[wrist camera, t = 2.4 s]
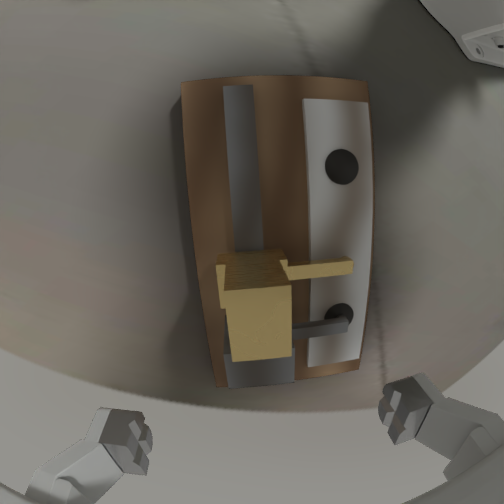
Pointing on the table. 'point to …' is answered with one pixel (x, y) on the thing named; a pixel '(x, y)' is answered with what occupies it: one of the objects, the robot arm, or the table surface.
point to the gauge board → (284, 208)
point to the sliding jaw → (265, 298)
